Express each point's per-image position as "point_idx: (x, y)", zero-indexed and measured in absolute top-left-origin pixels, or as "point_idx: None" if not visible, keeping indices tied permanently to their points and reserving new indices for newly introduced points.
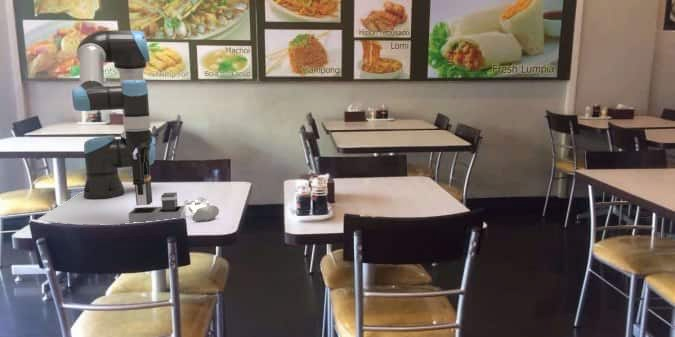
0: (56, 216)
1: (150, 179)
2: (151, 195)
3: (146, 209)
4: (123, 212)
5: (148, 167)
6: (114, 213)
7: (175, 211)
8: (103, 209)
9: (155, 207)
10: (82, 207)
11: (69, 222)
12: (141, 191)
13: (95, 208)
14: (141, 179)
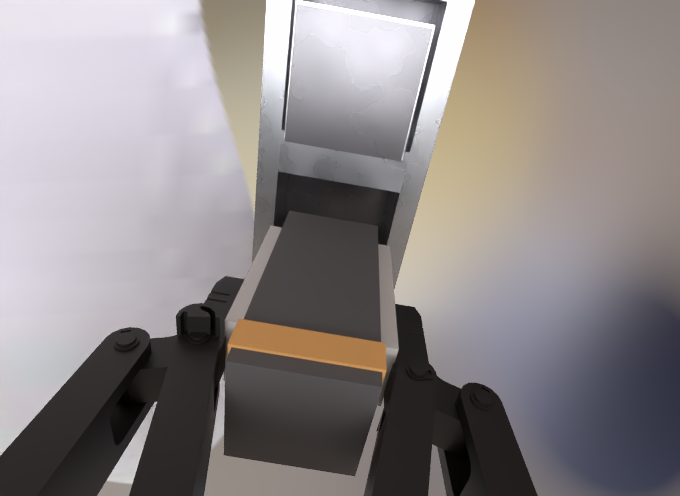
0: (133, 468)
1: (248, 319)
2: (293, 236)
3: (274, 225)
4: (78, 301)
5: (82, 434)
6: (96, 330)
7: (448, 23)
8: (31, 367)
9: (273, 177)
10: (7, 423)
11: (216, 437)
12: (421, 331)
13: (18, 390)
14: (501, 425)
